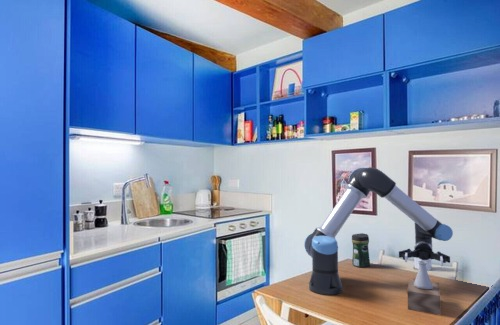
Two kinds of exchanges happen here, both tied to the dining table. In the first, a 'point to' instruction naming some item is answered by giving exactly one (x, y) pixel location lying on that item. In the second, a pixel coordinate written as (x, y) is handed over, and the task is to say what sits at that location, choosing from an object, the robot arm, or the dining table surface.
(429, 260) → the jar
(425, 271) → the flask
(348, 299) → the dining table surface
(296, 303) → the dining table surface
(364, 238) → the coffee jar
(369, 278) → the dining table surface
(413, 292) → the walnut block
